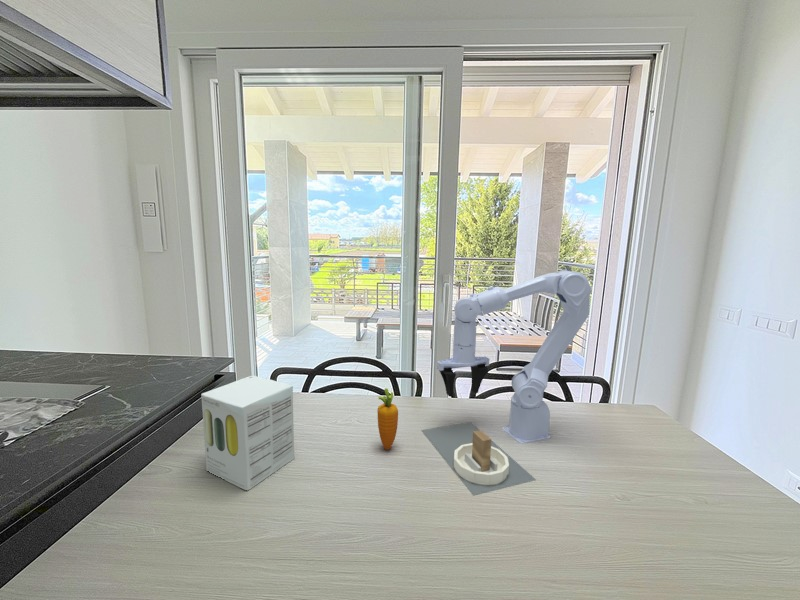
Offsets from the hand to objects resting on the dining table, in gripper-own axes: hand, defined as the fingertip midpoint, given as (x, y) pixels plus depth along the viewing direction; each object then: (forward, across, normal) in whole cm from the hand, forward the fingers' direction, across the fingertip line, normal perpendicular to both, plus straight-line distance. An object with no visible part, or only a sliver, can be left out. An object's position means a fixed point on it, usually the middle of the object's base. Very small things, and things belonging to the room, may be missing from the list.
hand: (462, 393), depth 93 cm
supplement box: (+10, +52, 0) cm, 53 cm away
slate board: (+10, +4, +12) cm, 16 cm away
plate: (+9, +5, +18) cm, 20 cm away
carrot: (+10, +22, +4) cm, 25 cm away
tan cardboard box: (+9, +5, +18) cm, 20 cm away
